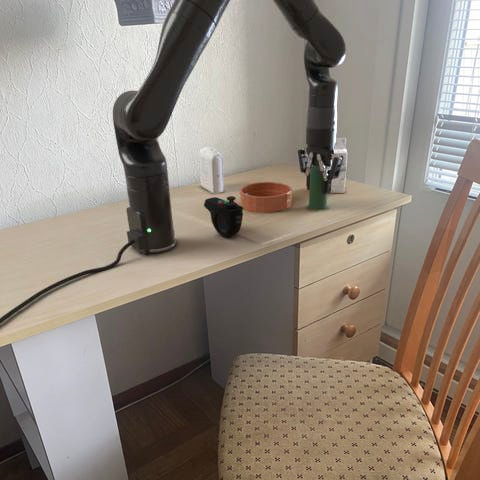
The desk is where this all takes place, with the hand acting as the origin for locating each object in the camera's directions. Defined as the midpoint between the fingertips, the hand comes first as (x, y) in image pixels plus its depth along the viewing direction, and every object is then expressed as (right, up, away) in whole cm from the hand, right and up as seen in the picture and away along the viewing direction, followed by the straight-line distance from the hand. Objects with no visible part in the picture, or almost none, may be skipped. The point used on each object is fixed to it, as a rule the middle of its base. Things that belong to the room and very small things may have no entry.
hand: (318, 191), depth 137 cm
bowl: (-14, -2, +6) cm, 15 cm away
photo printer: (-29, +6, +21) cm, 36 cm away
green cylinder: (0, -4, +2) cm, 5 cm away
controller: (-25, -14, -12) cm, 31 cm away
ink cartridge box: (+6, +4, +15) cm, 17 cm away
